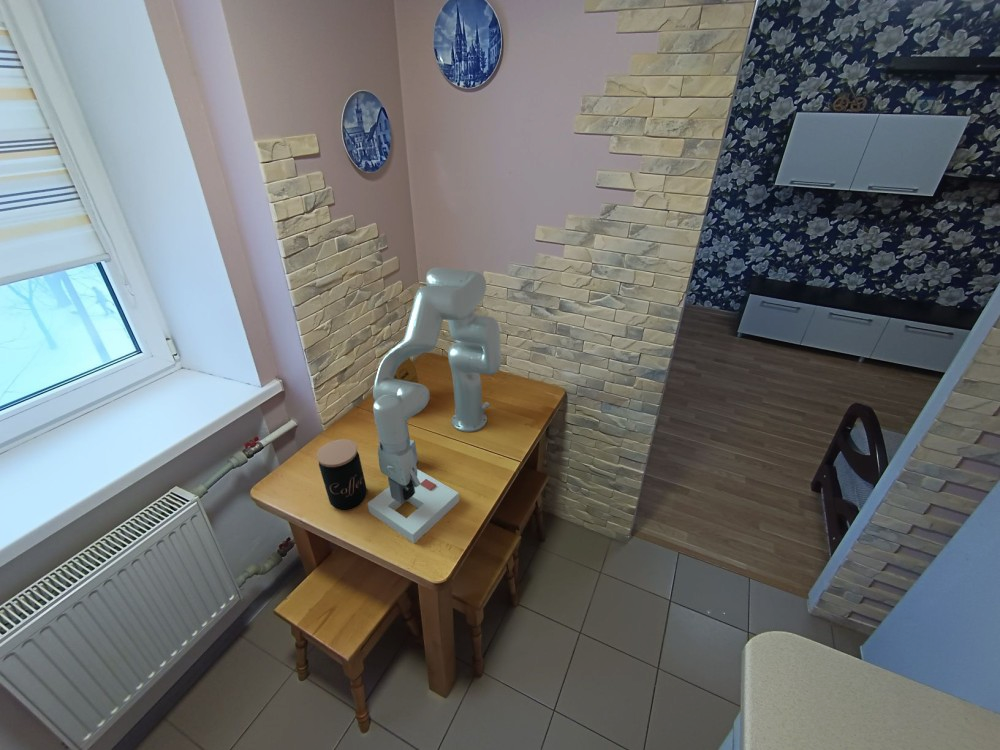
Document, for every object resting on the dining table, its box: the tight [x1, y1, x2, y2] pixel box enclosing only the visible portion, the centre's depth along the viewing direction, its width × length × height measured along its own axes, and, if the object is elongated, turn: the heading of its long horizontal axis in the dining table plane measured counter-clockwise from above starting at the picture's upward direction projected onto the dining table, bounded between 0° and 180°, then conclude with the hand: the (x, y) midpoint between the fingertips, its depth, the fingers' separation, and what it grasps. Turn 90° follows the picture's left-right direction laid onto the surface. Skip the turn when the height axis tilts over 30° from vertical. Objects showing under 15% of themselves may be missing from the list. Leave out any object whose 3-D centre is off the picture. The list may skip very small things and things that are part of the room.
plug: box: [387, 477, 415, 505], centre depth 123 cm, size 5×4×8 cm
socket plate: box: [366, 468, 460, 544], centre depth 130 cm, size 18×18×4 cm
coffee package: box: [394, 357, 420, 384], centre depth 166 cm, size 10×12×22 cm
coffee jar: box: [316, 438, 368, 511], centre depth 129 cm, size 11×11×18 cm
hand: (403, 492), depth 124 cm, fingers closed on plug, 4 cm apart
